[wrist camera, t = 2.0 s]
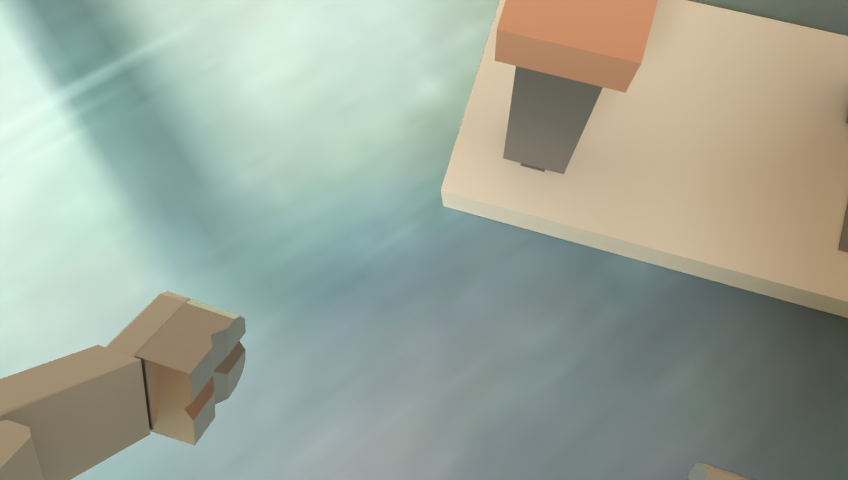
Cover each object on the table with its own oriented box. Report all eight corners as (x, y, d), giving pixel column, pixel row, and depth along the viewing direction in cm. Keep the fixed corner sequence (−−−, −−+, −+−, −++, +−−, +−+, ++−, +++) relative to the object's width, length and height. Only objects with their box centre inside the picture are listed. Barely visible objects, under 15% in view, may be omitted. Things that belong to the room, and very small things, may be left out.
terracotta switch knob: (576, 182, 31) (641, 63, 19) (487, 159, 31) (496, 29, 20) (592, 125, 31) (664, -25, 20) (504, 103, 32) (523, -56, 20)
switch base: (893, 330, 31) (938, 326, 28) (443, 206, 34) (440, 189, 31) (933, 91, 34) (979, 64, 31) (508, -6, 37) (511, -40, 34)
